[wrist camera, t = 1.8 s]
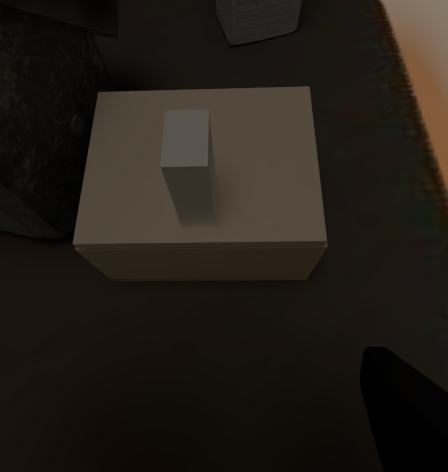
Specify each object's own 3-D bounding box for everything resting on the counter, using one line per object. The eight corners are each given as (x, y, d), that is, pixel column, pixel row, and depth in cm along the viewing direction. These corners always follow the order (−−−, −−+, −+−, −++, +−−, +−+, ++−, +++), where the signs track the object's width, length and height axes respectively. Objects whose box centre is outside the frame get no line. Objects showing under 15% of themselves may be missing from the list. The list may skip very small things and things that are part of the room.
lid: (324, 245, 17) (361, 184, 12) (78, 248, 17) (9, 190, 12) (307, 94, 20) (331, -5, 15) (101, 100, 21) (56, 5, 16)
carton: (306, 279, 23) (327, 247, 17) (113, 281, 23) (75, 249, 18) (295, 156, 26) (310, 97, 21) (127, 160, 26) (99, 102, 21)
